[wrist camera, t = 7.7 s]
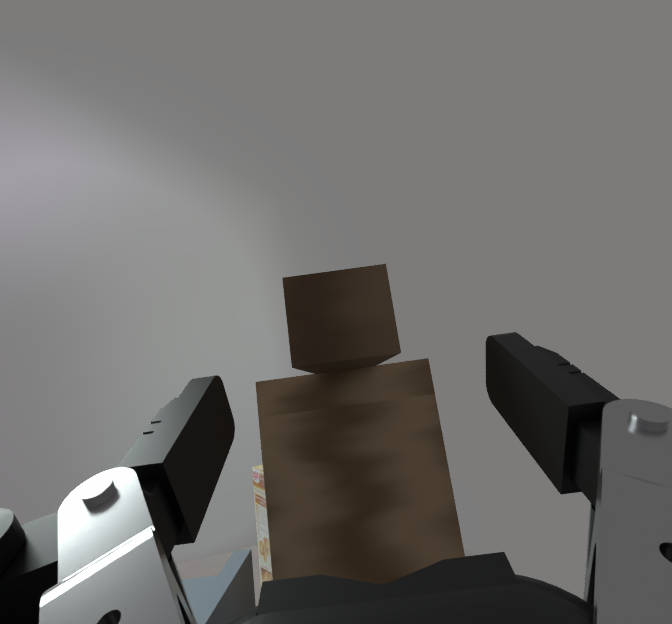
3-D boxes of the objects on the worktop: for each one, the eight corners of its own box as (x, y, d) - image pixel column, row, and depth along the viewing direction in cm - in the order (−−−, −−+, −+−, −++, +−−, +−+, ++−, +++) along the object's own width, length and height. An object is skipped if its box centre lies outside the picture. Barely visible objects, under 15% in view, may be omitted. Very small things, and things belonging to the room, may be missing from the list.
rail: (292, 367, 11) (282, 278, 12) (327, 377, 35) (323, 347, 35) (400, 352, 11) (385, 264, 12) (362, 372, 35) (358, 342, 35)
